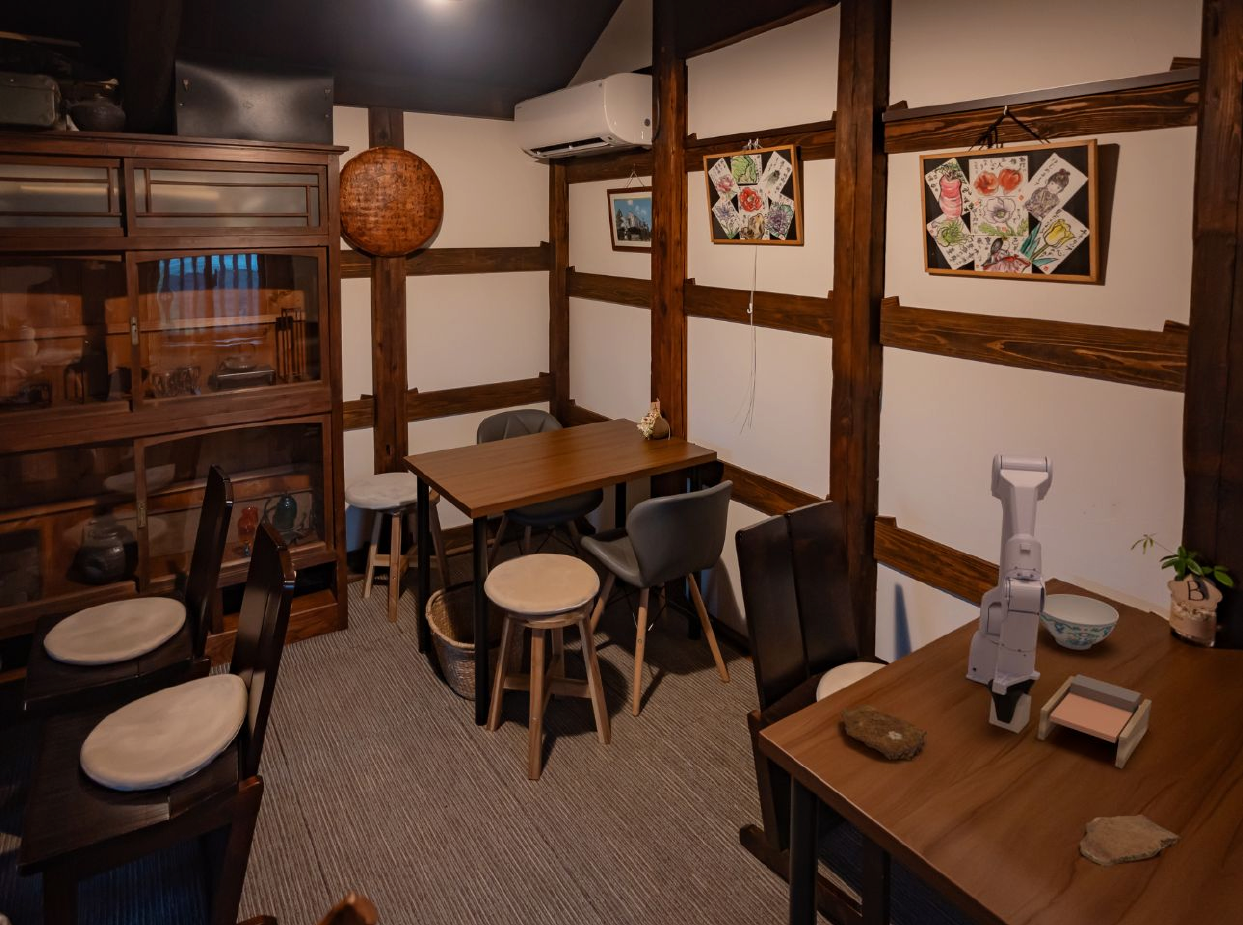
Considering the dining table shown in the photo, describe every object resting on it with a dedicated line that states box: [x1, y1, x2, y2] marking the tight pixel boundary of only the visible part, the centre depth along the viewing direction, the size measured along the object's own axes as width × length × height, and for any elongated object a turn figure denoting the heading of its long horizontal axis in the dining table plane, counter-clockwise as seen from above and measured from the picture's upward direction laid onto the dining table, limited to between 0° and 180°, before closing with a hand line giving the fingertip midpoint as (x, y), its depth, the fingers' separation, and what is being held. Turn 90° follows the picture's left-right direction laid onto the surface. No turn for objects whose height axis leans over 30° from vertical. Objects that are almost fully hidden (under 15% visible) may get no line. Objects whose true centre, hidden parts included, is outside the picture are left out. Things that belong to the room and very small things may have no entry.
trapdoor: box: [1049, 674, 1142, 744], centre depth 148 cm, size 10×14×3 cm
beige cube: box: [988, 694, 1032, 734], centre depth 153 cm, size 5×5×5 cm
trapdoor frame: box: [1037, 675, 1152, 769], centre depth 149 cm, size 13×16×6 cm
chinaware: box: [1038, 593, 1120, 651], centre depth 182 cm, size 15×15×8 cm
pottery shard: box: [1078, 814, 1180, 867], centre depth 123 cm, size 8×3×15 cm
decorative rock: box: [840, 703, 928, 762], centre depth 149 cm, size 11×4×15 cm
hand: (1009, 714), depth 153 cm, fingers closed on beige cube, 5 cm apart
